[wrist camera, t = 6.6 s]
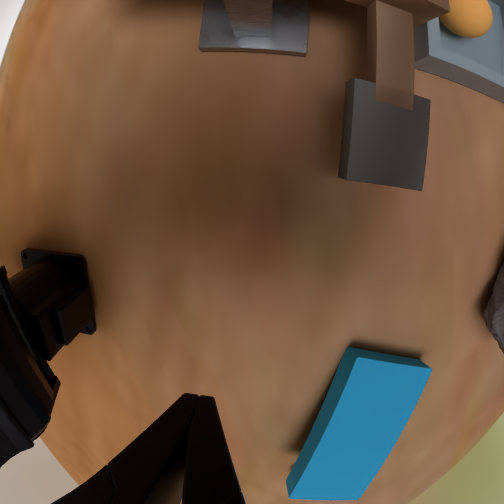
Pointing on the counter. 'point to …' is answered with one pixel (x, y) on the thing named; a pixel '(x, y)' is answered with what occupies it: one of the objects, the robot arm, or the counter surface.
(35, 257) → the robot arm
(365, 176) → the lever
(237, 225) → the counter surface
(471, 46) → the bin
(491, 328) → the perforated stone tool
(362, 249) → the counter surface
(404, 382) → the blue piece
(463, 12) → the ball
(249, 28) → the stand
